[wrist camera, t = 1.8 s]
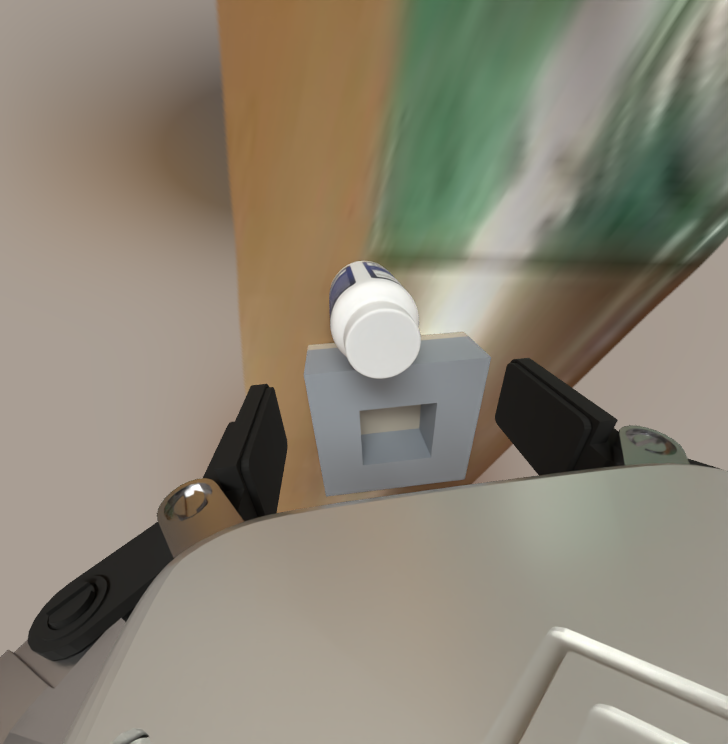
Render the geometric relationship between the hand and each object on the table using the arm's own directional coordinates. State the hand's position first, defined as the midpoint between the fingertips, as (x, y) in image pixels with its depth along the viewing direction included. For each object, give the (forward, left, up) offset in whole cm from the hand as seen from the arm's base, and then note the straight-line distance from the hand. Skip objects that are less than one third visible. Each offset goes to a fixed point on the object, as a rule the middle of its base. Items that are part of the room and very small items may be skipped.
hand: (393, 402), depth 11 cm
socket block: (+10, +2, -14) cm, 17 cm away
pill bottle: (-1, 0, -14) cm, 14 cm away
